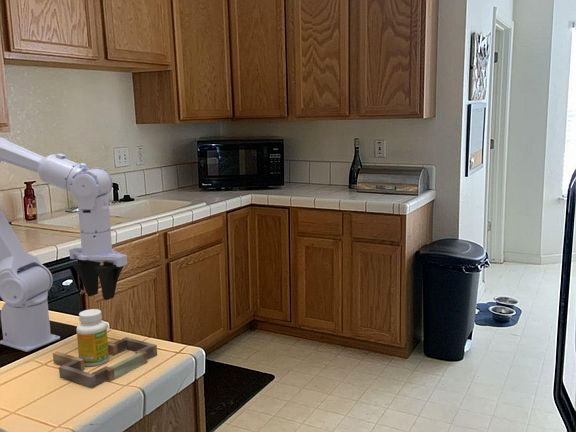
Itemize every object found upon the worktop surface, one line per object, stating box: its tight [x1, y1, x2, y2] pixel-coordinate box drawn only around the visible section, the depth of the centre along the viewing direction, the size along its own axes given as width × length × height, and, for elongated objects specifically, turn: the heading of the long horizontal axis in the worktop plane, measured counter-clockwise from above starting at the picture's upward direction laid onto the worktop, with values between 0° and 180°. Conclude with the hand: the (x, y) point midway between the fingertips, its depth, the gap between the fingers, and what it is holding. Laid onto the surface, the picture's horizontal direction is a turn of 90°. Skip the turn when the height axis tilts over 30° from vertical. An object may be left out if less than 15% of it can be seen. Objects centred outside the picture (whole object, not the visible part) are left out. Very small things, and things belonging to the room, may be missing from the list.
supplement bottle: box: [76, 308, 110, 367], centre depth 106 cm, size 5×5×10 cm
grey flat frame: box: [52, 336, 158, 389], centre depth 105 cm, size 16×16×2 cm
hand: (100, 296), depth 112 cm, fingers open, 4 cm apart
